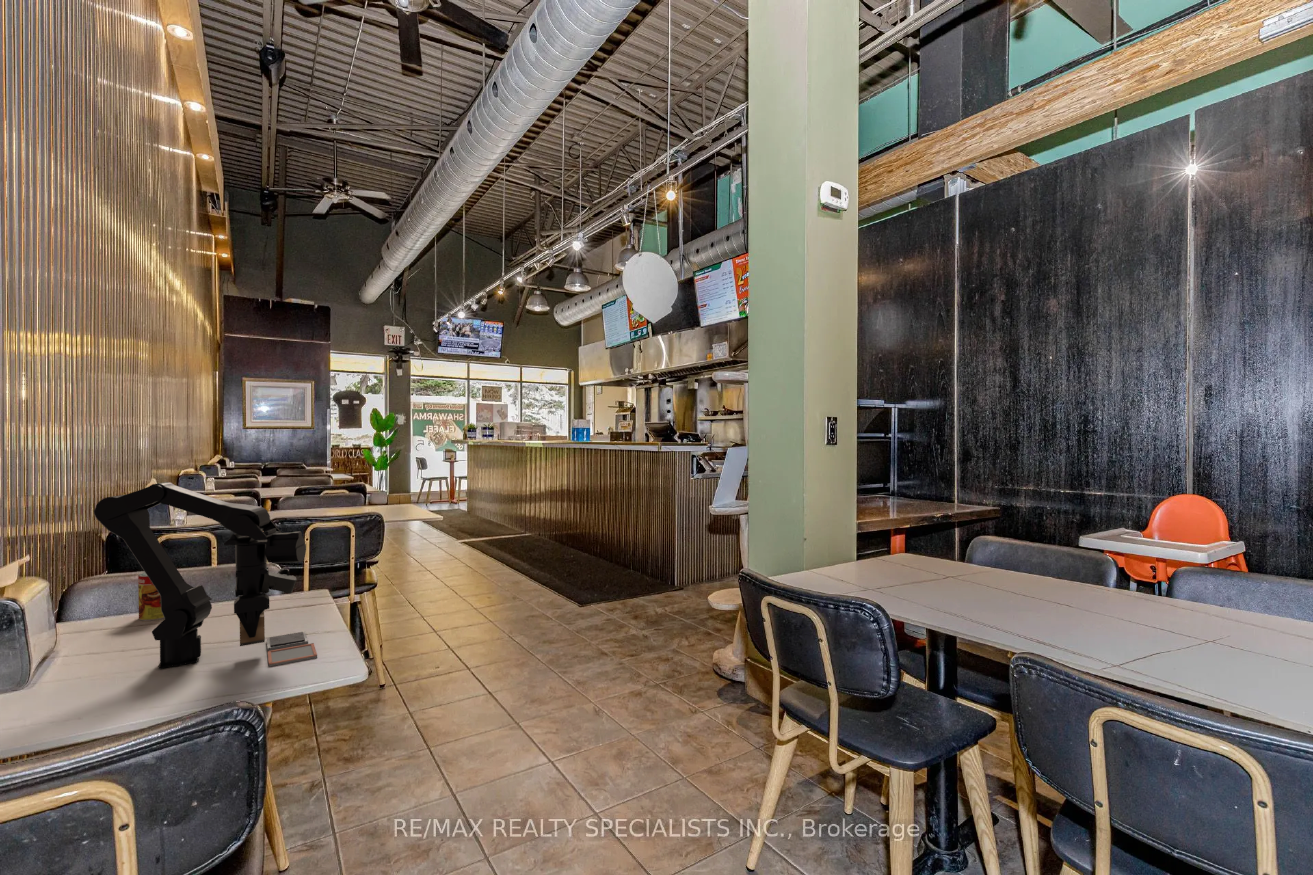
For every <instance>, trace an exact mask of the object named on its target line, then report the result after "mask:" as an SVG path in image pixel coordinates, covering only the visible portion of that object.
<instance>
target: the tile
mask: <svg viewBox="0 0 1313 875" xmlns="http://www.w3.org/2000/svg"><path fill="white" fill-rule="evenodd" d="M317 658H318V653H317V650H316V646H315V643H314V642H311V643H308V644H305V645H300V646H294V647H288V648H283V649H277V650H271V651H267V661H268V667H274V666H280V665H284V664H291V663H295V662H301V661H306V660H311V659H317Z"/></svg>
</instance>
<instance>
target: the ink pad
mask: <svg viewBox="0 0 1313 875" xmlns="http://www.w3.org/2000/svg"><path fill="white" fill-rule="evenodd" d="M305 644H309V638H308V635H307V632H306V631H300V632H293V633H286V634H281V635H275V636H270V637H266V650H267V652H268V651H271V650H277V649H283V648H288V647H294V646H300V645H305Z"/></svg>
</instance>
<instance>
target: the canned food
mask: <svg viewBox="0 0 1313 875" xmlns="http://www.w3.org/2000/svg"><path fill="white" fill-rule="evenodd" d="M137 580H138V581H137V582H138V583H137V584H138V585H137V586H138V588H137V589H138V592H137V595H138V597H137V598H138V599H137V600H138V620H139V621H142V622H144V621H156V620H164V619H165V618H164V616H163V613H162V611H161V596H160V594H159V592H158V591H157V589H156V588H155V586H154V585H153V583H152V582H151V580H150V579H149V577H148V576H147V574H146V573H145V571H143V572H140V573H138V574H137Z"/></svg>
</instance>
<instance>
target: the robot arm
mask: <svg viewBox="0 0 1313 875" xmlns="http://www.w3.org/2000/svg"><path fill="white" fill-rule="evenodd" d="M161 504H163V505H166V506H169V507H173V508H176V509H178V510H182V511H185V512H188V513H191V514H194V515H198V516H201V517H205V518H208V519H210V520H213V521H215V522H216V523H218V524H220V525H221V526H222V527H223V528H224V529H226V530H228V531H230V532H232V533H233V534H232V535H231V537H229V538H228V540H226V541H225V542H223V545H224V546H227V547H228V546H231V547H232V546H235V548H234V549H235V588H234V589H235V591H234V593H235V598H236V599H235V600H234V601H233V614H234V615H236V616H237V618H238V619H239V622H240V621H241V623H242V625H243V627H244V629H245V631H246V632H247V634H248V636H249V638H252V637H255V636H256V631H257V627H258V622H259V618H260V614H261V613H262V612H265V610H269V609H270V596H269V595H268V593H270V590H272V591H276V592H282V593H285V594H289V595H290V594H292V592H293V591H294V588H295V585H296V583H297V576H295V575H291V573H290V570H289V569H288V568H280V570H279V571H278V572H276V571H274V572H273V571H270V570H269V566H268V565H267V561H268V562H269V561H270V562H271V564H284V563H285V564H287V563H288V564H289V563H302V562H303V561H304V560H305V556H306V553H307V544H306V543H305V542H306V541H305V539H304V537H303V534H302V531H300V530H299V531H293V532H282V531H281V530H280V529H279V527H277V525H276V524H275V523H274V522H273V521H272V519H271V516H270V513H269V511H268V510H267V508H264V507H262V506H258V505H250V504H245V503H235V502H234V503H232V502H227V501H224V500H220V499H218V498H214V497H213V496H212V497H211V496H208V495H206V494H202V493H199V492H196V491H192V490H190V489H188V488H184V487H181V486H178V485H175V484H173V482H169V481H165V482H159V483H153V484H151V485H149V486H146V487H144V488H142V489H139V490H136V491H133V492H130V493H126V494H119V495H113V496H108V497H104V498H102V499H101V500H99V501H98V503H97V504H96V505H95V508H94V509H93V514H94V517H95V519H96V520H97V521H98V522H99V523H100V524H101V525H102V526H103V527H104V528H105V529H106V530H107V531H108V532H110V533H111V534H114V535H116V536H117V537H119V538H120V539H122V540H123V541H124V543H125V545H126V546H127V547H128V549H129V550H130V552H131V553H132V554H133V556H134V557H135V559H136V560H137V562H138V564H139V566H140V567H141V569H142V570H143V572H145V573H146V574H147V576H148V577H149V579H150V580H151V582H152V583H153V585H154V586H155V588H156V589H157V591H158V592H159V594H160V596H161V611H162V613H163V616H164V618H163V619H162V621H161V622H160V623H159V624H158V625H157V626H155V628H154V629H153V630H152V631H151V633H152V634H151V635H152V636H153V638H154V641H159V664H158V669H160V670H161V669H166V668H172V667H177V666H183V665H184V666H185V665H189V664H196V663H197V662H198V660H199V658H200V657H201V655H202V636H201V635H200V634H198V633H199V630H198V628H201V627H202V625H203V623H204V621H205V620H206V619H207V618H208V617H209V616H210V614H211V611H212V608H213V606H212V603H211V601H212V600H213V598H212V597H211V596H209V595H208V594H207V592H206V590H205V587H204V586H203V585H202V584H198V585H197V586H195V587H194V586H192V585H191V584H188V583H187V581H186V580H185V579H184V578H183V576H182V574H181V573H180V571H179V569H178V568H177V567H176V566H175V564H174V562H173V561H172V559H171V558H170V556H169V555H168V554H167V552H166V550H165V549H164V547H163V546H162V543H160V541H159V539H158V538H157V536H156V535H155V533H154V532H153V531H152V529H151V526H150V525H151V522H150V512H149V509H151V508H154V507H157V506H159V505H161Z"/></svg>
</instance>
